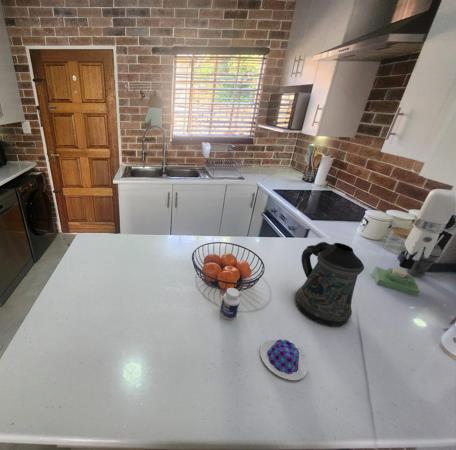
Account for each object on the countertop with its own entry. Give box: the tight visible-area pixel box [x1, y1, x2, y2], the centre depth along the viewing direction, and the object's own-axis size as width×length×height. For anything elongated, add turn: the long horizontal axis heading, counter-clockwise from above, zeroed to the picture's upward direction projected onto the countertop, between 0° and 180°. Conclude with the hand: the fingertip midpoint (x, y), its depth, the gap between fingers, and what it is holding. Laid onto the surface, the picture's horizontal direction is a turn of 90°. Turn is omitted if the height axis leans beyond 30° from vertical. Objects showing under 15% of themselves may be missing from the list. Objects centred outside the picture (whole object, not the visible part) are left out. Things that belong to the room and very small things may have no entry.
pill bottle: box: [219, 287, 241, 321], centre depth 81 cm, size 5×5×10 cm
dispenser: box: [371, 266, 421, 297], centre depth 98 cm, size 12×10×6 cm
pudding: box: [259, 339, 308, 381], centre depth 68 cm, size 12×12×5 cm
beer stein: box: [294, 241, 365, 327], centre depth 82 cm, size 16×19×25 cm
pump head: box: [392, 267, 408, 278], centre depth 97 cm, size 4×4×2 cm
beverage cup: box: [406, 234, 445, 279], centre depth 103 cm, size 7×7×20 cm
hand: (404, 267), depth 95 cm, fingers closed
